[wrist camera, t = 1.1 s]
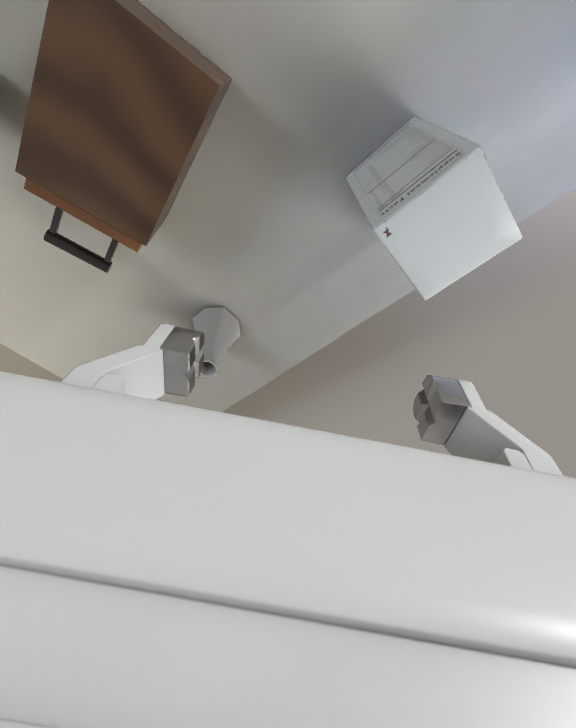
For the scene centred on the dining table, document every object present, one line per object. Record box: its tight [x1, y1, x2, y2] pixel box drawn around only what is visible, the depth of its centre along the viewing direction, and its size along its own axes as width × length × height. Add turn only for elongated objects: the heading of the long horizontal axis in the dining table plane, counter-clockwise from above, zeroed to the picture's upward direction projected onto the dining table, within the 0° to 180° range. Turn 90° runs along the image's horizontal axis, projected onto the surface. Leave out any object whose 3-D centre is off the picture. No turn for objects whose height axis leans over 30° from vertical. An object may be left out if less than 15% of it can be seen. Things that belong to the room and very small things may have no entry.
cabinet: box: [15, 0, 232, 246], centre depth 35 cm, size 17×13×9 cm
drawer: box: [24, 178, 143, 273], centre depth 38 cm, size 21×11×7 cm, turn 145°
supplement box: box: [346, 116, 523, 300], centre depth 36 cm, size 10×9×17 cm
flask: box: [192, 307, 241, 378], centre depth 52 cm, size 7×7×10 cm
